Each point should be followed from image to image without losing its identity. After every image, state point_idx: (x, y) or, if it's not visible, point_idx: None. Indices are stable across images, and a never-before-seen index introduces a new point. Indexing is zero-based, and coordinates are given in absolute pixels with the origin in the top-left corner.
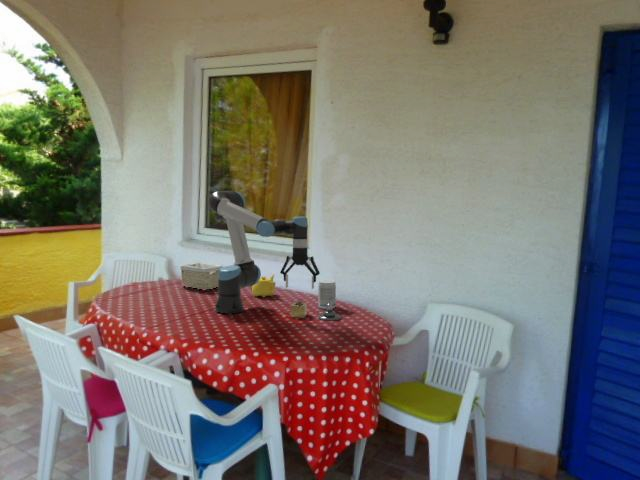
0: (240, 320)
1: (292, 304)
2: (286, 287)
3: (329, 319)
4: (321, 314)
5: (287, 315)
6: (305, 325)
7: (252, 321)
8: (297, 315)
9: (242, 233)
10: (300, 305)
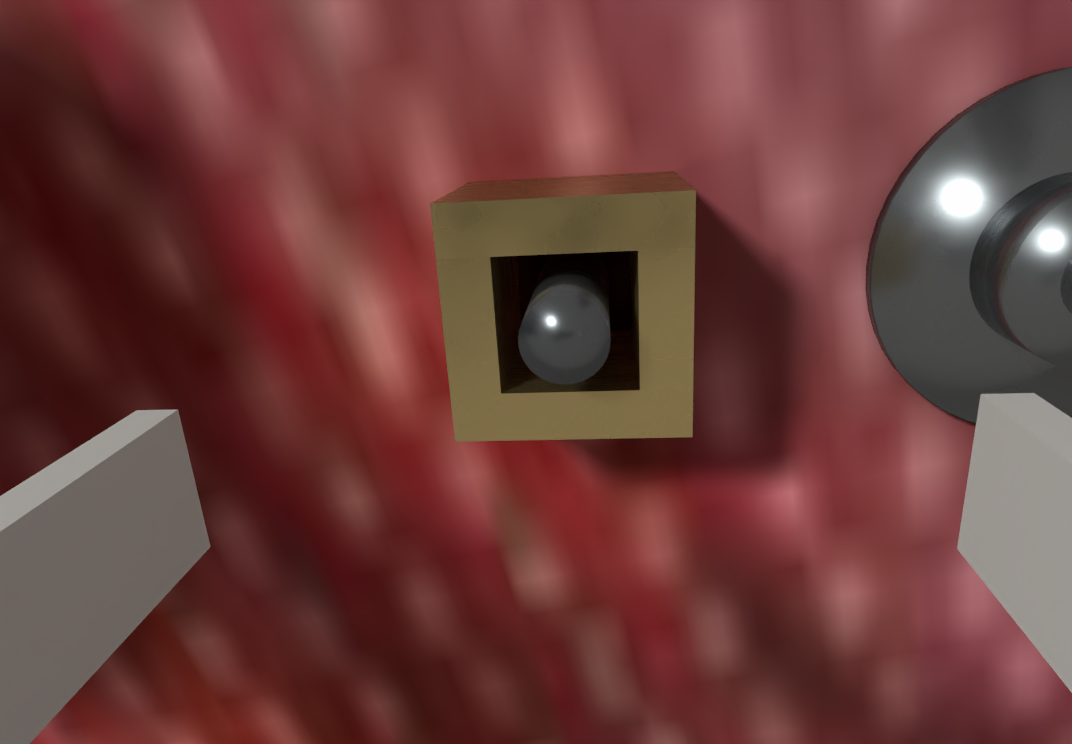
0: None
1: (455, 365)
2: (190, 552)
3: None
4: (928, 191)
5: (416, 307)
6: (738, 652)
7: None
8: None
9: None
10: (609, 394)
